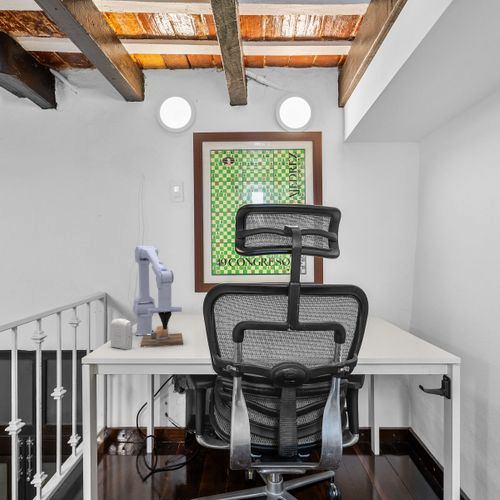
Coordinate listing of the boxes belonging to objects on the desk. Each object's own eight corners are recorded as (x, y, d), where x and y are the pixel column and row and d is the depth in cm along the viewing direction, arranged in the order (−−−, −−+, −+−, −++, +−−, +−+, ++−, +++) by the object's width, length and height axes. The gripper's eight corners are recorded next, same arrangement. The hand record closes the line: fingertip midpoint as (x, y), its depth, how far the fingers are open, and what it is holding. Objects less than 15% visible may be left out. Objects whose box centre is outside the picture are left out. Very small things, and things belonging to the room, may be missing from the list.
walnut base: (143, 337, 184) (143, 332, 184) (181, 335, 187) (181, 331, 187) (140, 347, 166) (140, 342, 166) (183, 344, 169) (183, 339, 169)
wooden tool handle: (159, 334, 180) (159, 325, 180) (169, 334, 179) (169, 325, 179) (147, 341, 166) (147, 332, 166) (158, 341, 165) (158, 332, 165)
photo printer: (134, 347, 165) (133, 319, 165) (126, 350, 161) (126, 320, 161) (117, 345, 170) (116, 316, 170) (109, 347, 166) (109, 318, 166)
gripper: (148, 300, 163) (148, 332, 163) (182, 298, 168) (183, 329, 168) (147, 298, 170) (147, 328, 170) (179, 296, 175) (180, 326, 175)
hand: (164, 329), depth 170 cm, fingers closed
